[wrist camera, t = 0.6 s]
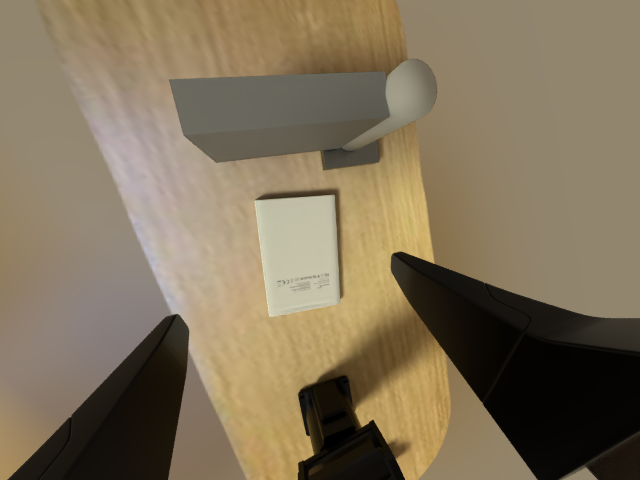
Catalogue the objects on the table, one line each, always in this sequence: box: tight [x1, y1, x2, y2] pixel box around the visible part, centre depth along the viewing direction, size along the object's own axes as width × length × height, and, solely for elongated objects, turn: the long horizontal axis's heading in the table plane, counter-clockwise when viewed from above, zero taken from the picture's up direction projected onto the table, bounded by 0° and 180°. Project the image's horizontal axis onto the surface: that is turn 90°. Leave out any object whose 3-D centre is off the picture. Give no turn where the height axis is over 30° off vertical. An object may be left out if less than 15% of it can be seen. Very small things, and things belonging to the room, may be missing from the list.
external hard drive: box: [255, 195, 340, 317], centre depth 25 cm, size 2×8×12 cm
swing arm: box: [169, 59, 437, 163], centre depth 17 cm, size 3×15×10 cm, turn 98°
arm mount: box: [321, 140, 379, 170], centre depth 23 cm, size 6×6×1 cm
